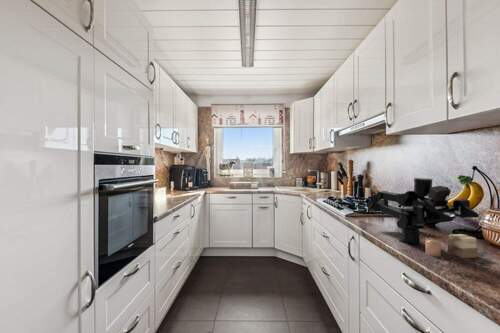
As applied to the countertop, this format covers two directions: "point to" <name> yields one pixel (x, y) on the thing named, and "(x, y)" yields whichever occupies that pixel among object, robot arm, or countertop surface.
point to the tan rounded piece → (433, 247)
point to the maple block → (462, 241)
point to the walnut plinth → (463, 251)
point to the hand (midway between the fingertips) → (465, 217)
